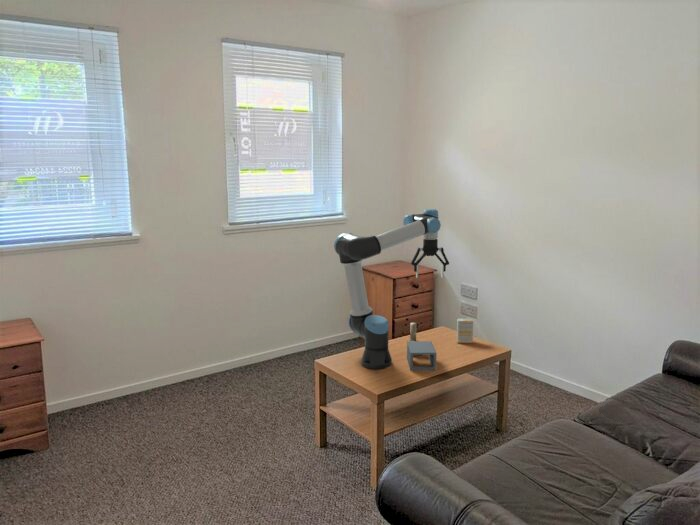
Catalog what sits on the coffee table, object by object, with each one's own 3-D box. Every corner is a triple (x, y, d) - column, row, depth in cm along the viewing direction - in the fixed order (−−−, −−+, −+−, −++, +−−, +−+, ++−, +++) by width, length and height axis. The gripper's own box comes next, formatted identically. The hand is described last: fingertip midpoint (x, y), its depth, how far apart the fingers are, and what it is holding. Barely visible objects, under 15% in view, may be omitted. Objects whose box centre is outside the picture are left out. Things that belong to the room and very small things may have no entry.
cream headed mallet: (411, 356, 284) (411, 337, 282) (407, 339, 308) (407, 322, 306) (423, 356, 284) (423, 337, 282) (418, 339, 308) (418, 322, 306)
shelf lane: (410, 370, 266) (410, 352, 264) (406, 358, 281) (407, 341, 279) (436, 370, 266) (436, 352, 264) (431, 357, 281) (431, 341, 279)
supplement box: (471, 340, 306) (472, 318, 303) (472, 343, 301) (473, 320, 298) (456, 340, 307) (457, 317, 304) (457, 343, 302) (458, 320, 299)
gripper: (407, 239, 288) (407, 279, 293) (455, 239, 288) (454, 278, 293) (406, 237, 296) (405, 276, 300) (452, 237, 296) (451, 275, 300)
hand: (429, 277), depth 296 cm, fingers open, 13 cm apart
